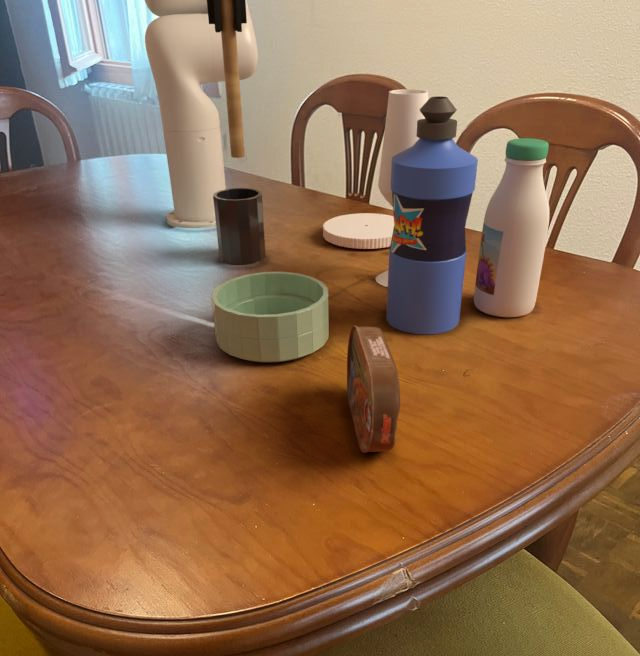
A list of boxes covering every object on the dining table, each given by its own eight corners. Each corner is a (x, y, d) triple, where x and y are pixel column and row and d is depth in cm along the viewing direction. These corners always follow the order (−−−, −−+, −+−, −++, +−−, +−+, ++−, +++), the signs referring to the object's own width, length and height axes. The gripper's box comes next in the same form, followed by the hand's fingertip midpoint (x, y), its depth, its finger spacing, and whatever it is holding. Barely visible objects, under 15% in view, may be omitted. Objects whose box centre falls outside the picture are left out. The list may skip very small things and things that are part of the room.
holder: (240, 250, 105) (234, 185, 100) (275, 258, 102) (271, 191, 96) (210, 262, 100) (202, 195, 95) (246, 271, 97) (240, 202, 91)
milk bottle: (536, 298, 87) (565, 136, 76) (531, 322, 81) (562, 149, 70) (477, 292, 89) (497, 133, 78) (468, 314, 83) (489, 146, 72)
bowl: (265, 308, 86) (262, 264, 82) (349, 333, 79) (350, 285, 76) (193, 347, 77) (187, 299, 73) (282, 378, 70) (280, 326, 67)
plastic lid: (305, 240, 109) (305, 225, 107) (366, 222, 116) (366, 208, 115) (364, 261, 100) (365, 245, 98) (426, 241, 107) (427, 225, 106)
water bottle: (416, 341, 77) (433, 107, 63) (370, 314, 84) (376, 96, 70) (476, 322, 81) (504, 98, 67) (427, 298, 88) (443, 89, 74)
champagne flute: (390, 267, 97) (398, 86, 84) (431, 276, 94) (445, 90, 81) (366, 282, 93) (370, 93, 80) (408, 292, 90) (419, 96, 76)
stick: (237, 154, 88) (223, -27, 77) (247, 155, 88) (235, -27, 76) (228, 156, 87) (213, -26, 76) (238, 158, 86) (224, -26, 75)
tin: (344, 385, 69) (344, 310, 64) (374, 383, 69) (376, 309, 64) (364, 473, 56) (366, 388, 52) (400, 470, 57) (406, 386, 52)
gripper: (283, -166, 73) (289, 27, 83) (137, -169, 71) (162, 30, 81) (292, -179, 67) (297, 32, 77) (133, -182, 65) (161, 35, 75)
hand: (228, 30), depth 79 cm, fingers closed on stick, 1 cm apart
